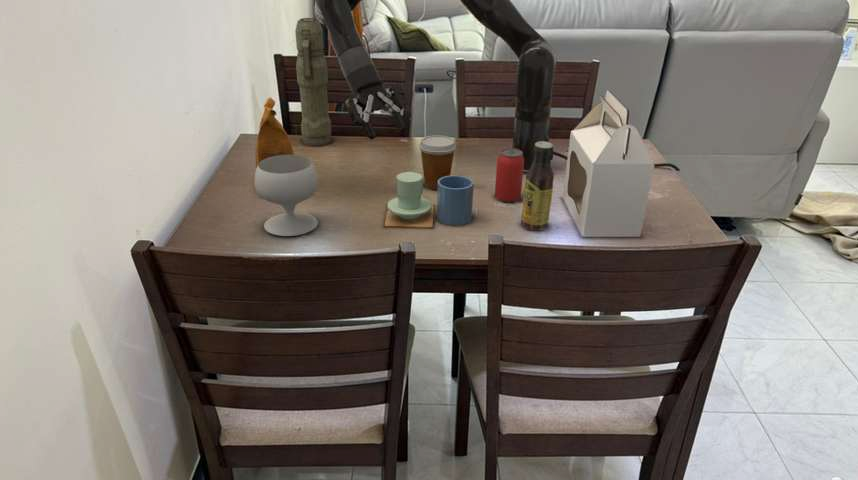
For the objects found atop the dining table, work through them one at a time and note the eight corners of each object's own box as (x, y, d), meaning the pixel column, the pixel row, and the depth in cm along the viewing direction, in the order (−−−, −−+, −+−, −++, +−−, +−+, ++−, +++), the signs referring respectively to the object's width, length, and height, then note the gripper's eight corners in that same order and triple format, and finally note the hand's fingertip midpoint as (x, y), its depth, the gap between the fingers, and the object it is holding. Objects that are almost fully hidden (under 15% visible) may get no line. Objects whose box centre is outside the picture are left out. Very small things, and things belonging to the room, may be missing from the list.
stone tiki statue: (300, 148, 199) (289, 23, 181) (304, 135, 209) (294, 15, 191) (330, 147, 200) (322, 23, 182) (333, 134, 210) (325, 15, 192)
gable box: (561, 197, 169) (576, 85, 155) (613, 197, 170) (632, 86, 155) (582, 238, 150) (600, 114, 136) (640, 237, 151) (665, 114, 136)
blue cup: (471, 210, 162) (472, 175, 158) (472, 225, 155) (473, 189, 151) (437, 209, 163) (438, 174, 158) (436, 224, 156) (437, 188, 151)
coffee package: (297, 177, 180) (289, 94, 168) (297, 195, 169) (289, 109, 158) (259, 179, 178) (249, 96, 167) (257, 198, 168) (246, 111, 156)
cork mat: (433, 206, 164) (433, 205, 164) (432, 228, 154) (432, 226, 154) (388, 205, 165) (388, 203, 164) (384, 227, 154) (384, 225, 154)
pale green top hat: (431, 206, 164) (432, 168, 159) (430, 224, 155) (431, 186, 150) (389, 205, 164) (388, 167, 159) (385, 223, 155) (385, 185, 150)
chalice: (324, 236, 150) (319, 173, 142) (260, 242, 147) (252, 178, 140) (319, 210, 162) (314, 150, 154) (259, 215, 159) (252, 154, 151)
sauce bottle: (518, 220, 158) (525, 138, 148) (544, 219, 158) (553, 138, 148) (524, 232, 152) (532, 148, 142) (551, 232, 153) (561, 148, 143)
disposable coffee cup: (451, 193, 171) (453, 148, 165) (415, 190, 173) (415, 145, 166) (457, 179, 179) (459, 136, 173) (422, 176, 181) (423, 133, 175)
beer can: (523, 194, 171) (527, 149, 165) (517, 204, 166) (521, 158, 160) (497, 190, 173) (501, 146, 167) (491, 200, 168) (494, 154, 161)
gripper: (376, 70, 166) (403, 131, 167) (328, 84, 159) (357, 147, 160) (390, 57, 160) (418, 120, 161) (340, 70, 153) (370, 136, 154)
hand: (387, 133), depth 161 cm, fingers open, 8 cm apart
